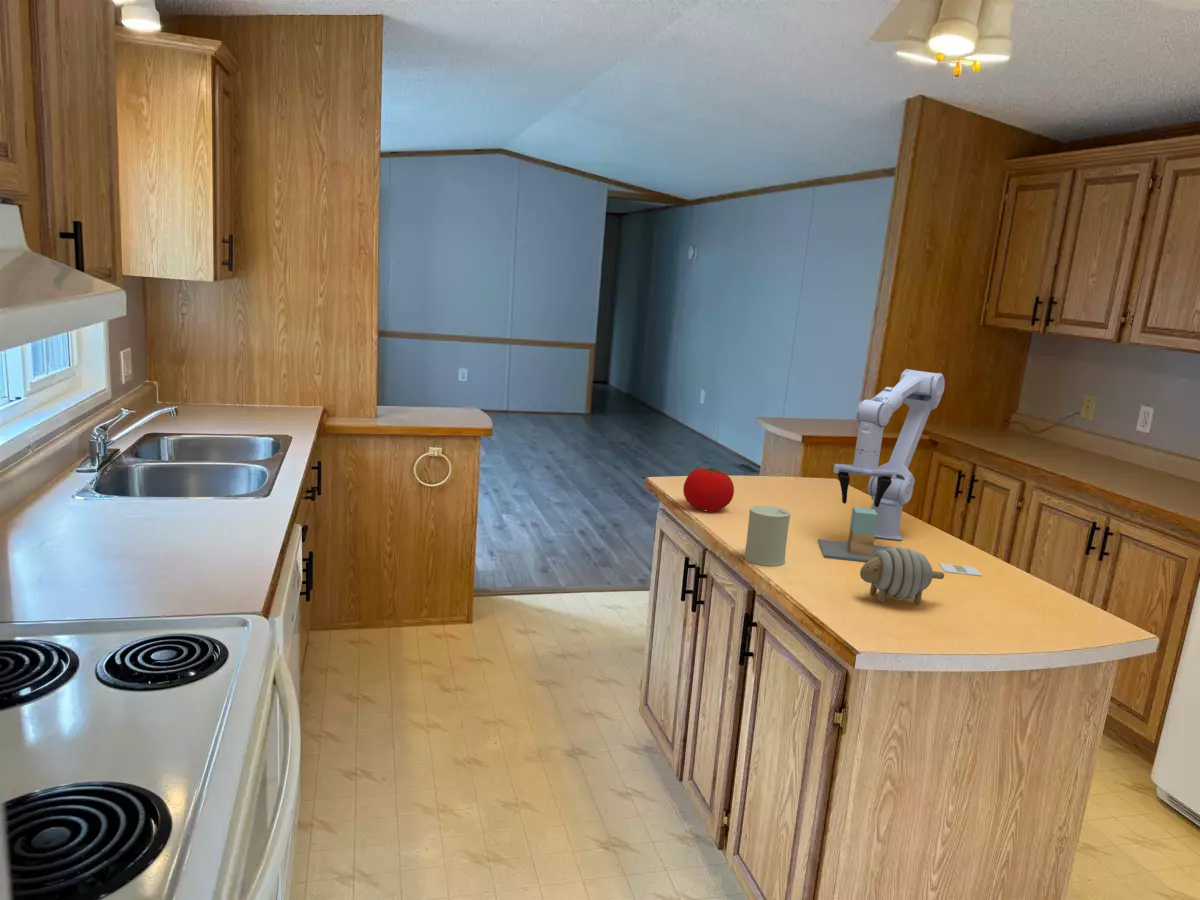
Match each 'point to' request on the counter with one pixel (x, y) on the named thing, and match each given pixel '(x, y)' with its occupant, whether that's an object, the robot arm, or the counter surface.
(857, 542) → the brown wooden cube
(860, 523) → the teal block
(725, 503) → the tomato
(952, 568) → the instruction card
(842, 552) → the baseplate
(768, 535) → the can
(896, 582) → the toy sheep
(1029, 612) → the counter surface
